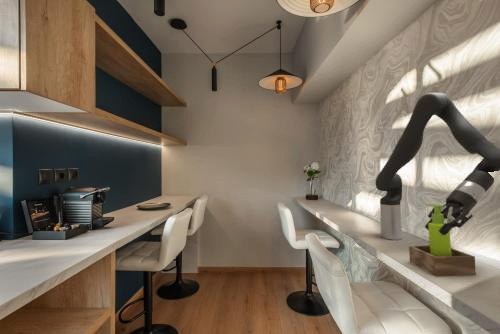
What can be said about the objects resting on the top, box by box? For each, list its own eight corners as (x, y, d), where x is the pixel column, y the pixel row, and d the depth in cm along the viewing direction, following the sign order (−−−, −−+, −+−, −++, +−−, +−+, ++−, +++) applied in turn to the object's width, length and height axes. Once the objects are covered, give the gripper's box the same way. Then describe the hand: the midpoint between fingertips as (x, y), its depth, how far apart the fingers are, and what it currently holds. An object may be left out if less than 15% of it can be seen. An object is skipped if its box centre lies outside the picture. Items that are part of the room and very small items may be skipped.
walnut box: (409, 261, 92) (409, 245, 92) (443, 260, 92) (442, 244, 93) (436, 276, 79) (435, 257, 79) (475, 275, 79) (474, 256, 80)
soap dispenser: (439, 257, 90) (435, 203, 91) (456, 263, 83) (451, 205, 84) (424, 258, 89) (420, 203, 90) (440, 264, 82) (435, 205, 84)
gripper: (441, 187, 94) (412, 219, 93) (476, 190, 79) (442, 228, 79) (455, 201, 94) (426, 233, 93) (493, 206, 79) (459, 244, 79)
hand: (434, 230), depth 86 cm, fingers closed on soap dispenser, 6 cm apart
